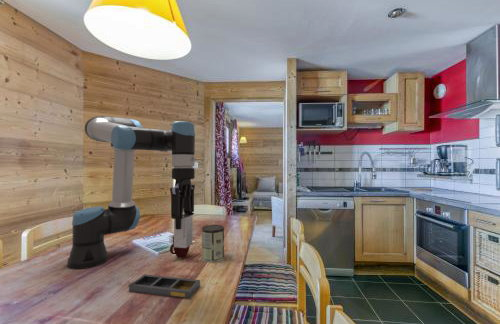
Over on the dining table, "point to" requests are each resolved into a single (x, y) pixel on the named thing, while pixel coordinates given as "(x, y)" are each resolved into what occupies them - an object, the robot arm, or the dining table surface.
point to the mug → (179, 250)
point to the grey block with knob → (185, 233)
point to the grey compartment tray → (165, 286)
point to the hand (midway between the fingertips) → (183, 236)
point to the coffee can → (212, 243)
